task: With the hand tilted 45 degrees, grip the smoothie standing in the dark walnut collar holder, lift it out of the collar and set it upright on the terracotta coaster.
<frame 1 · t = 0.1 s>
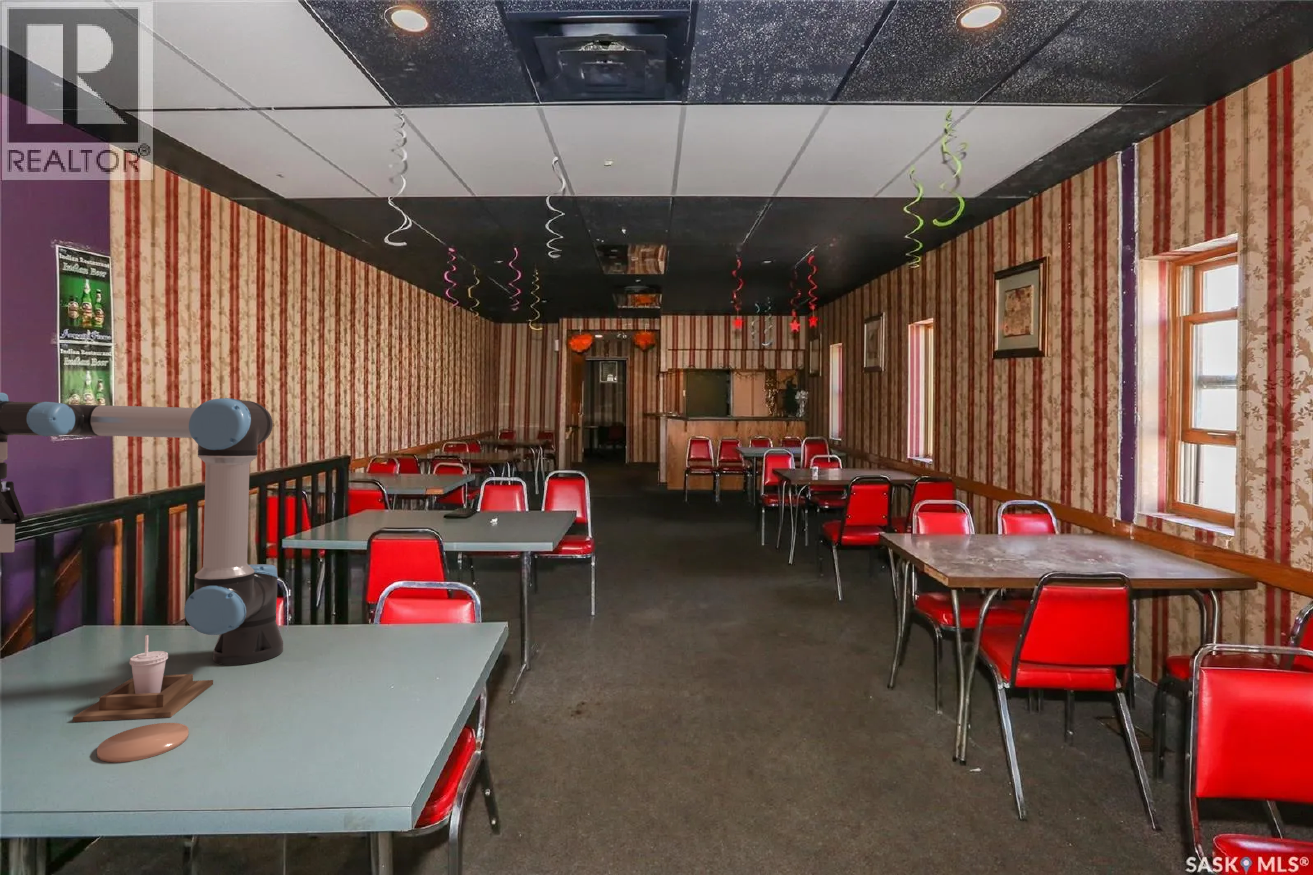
collar holder: (148, 701, 135), on the table
coaster: (144, 744, 117), on the table
smoothie: (148, 702, 135), resting in collar holder
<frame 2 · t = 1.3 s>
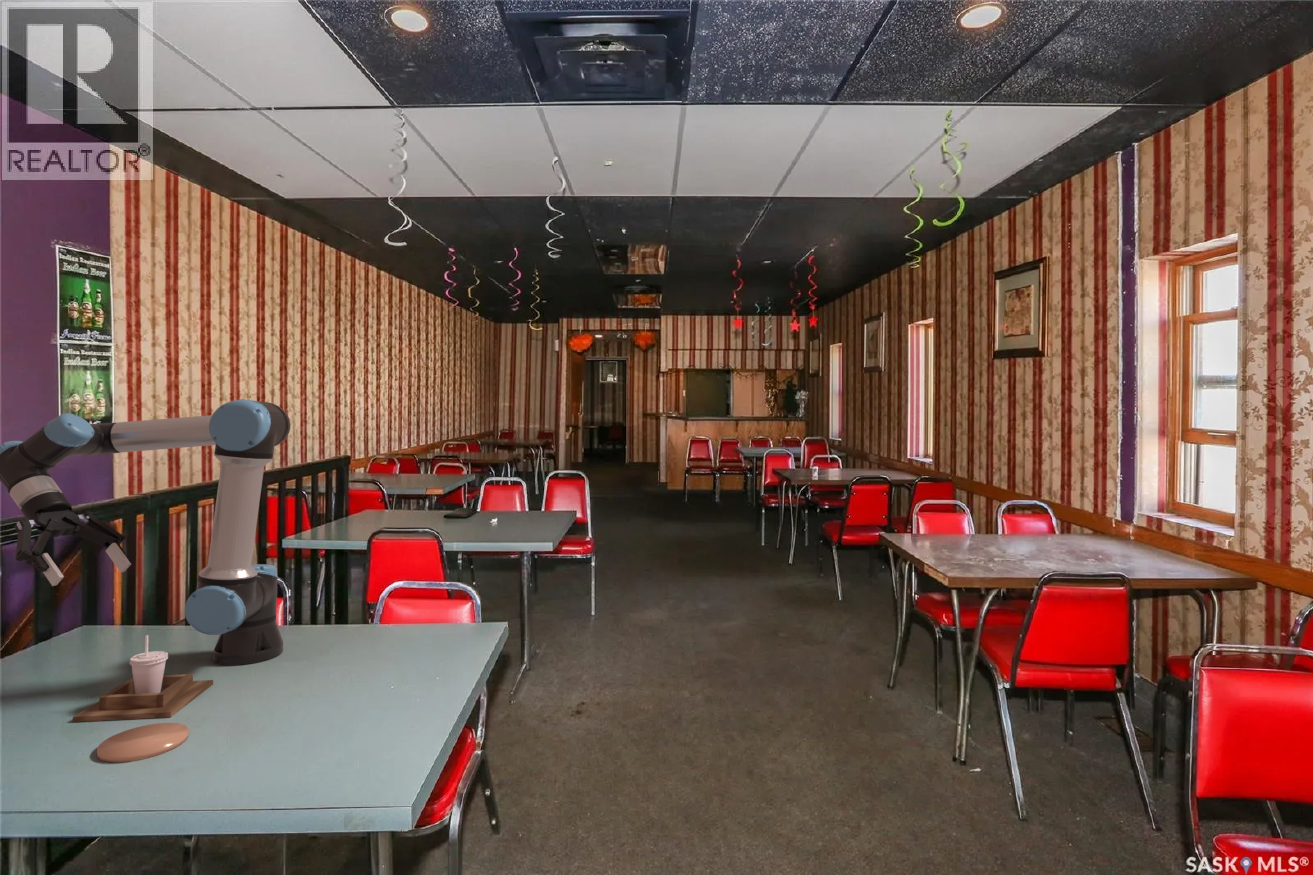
hand: (93, 574, 138), 26 cm above the table, tool tilted 45°, fingers open, 13 cm apart
nothing on the table moved.
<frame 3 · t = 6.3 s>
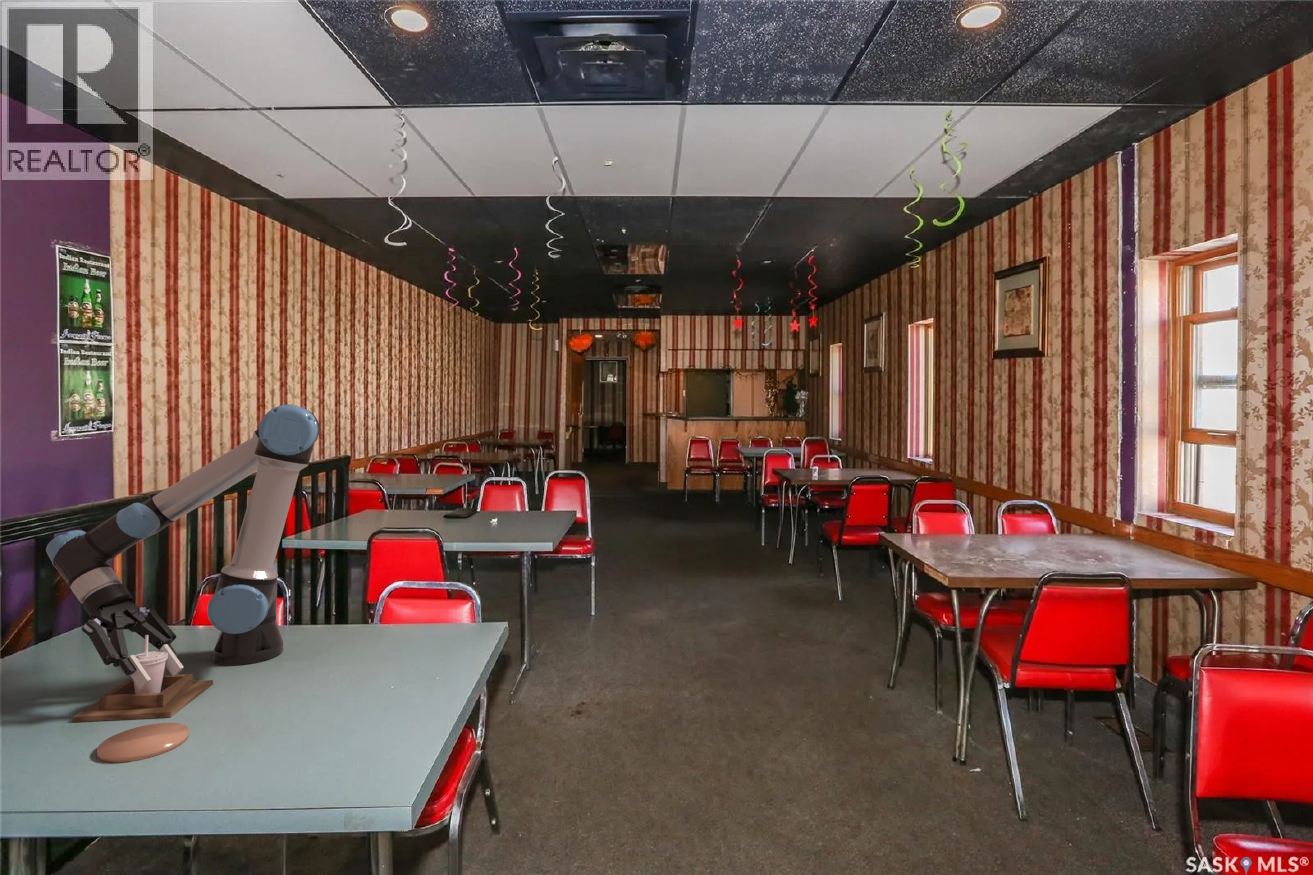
hand: (162, 677, 134), 5 cm above the table, tool tilted 45°, fingers closed on smoothie, 6 cm apart
smoothie: (148, 702, 135), resting in collar holder, touching gripper
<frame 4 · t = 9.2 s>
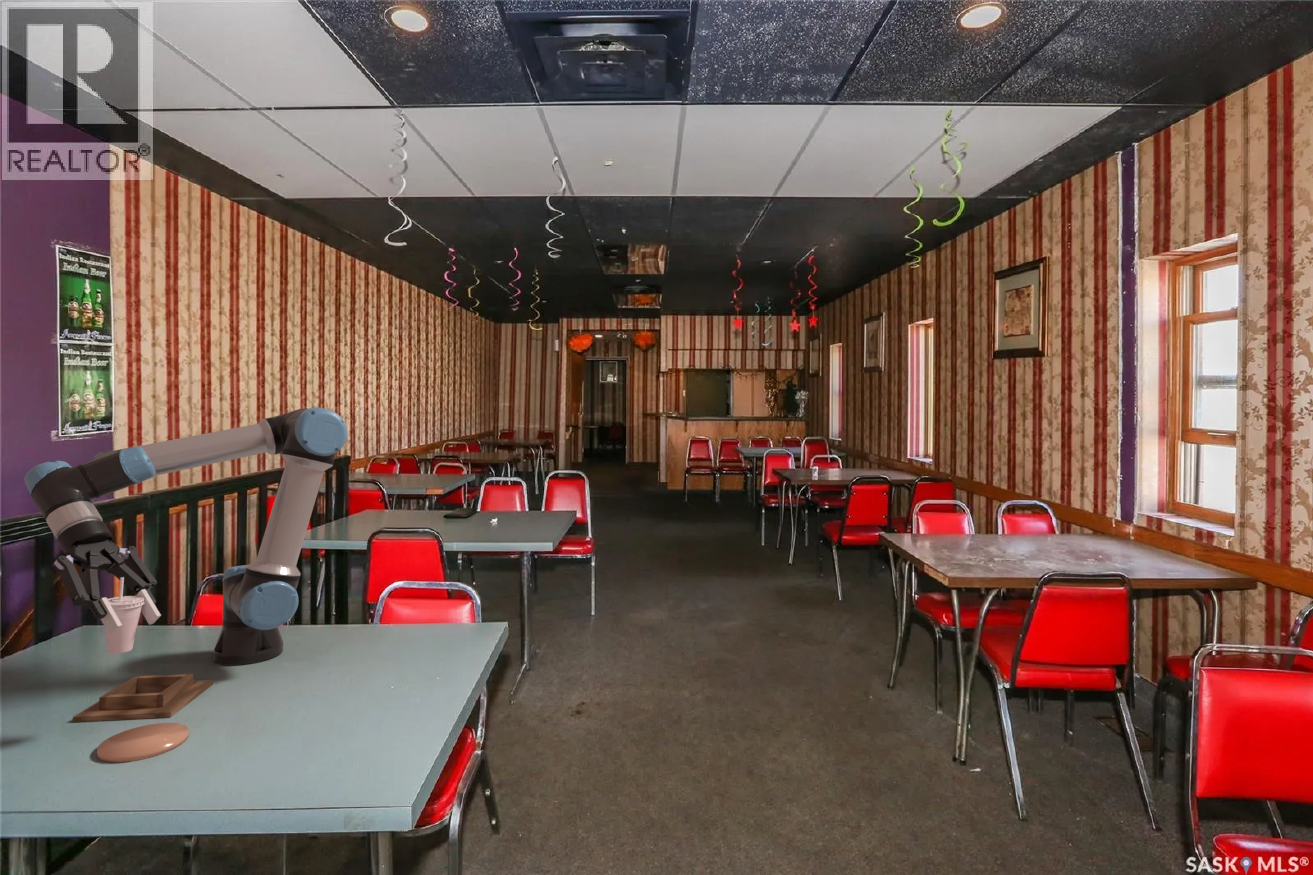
hand: (136, 624, 122), 20 cm above the table, tool tilted 40°, fingers closed on smoothie, 6 cm apart
smoothie: (120, 651, 123), point 15 cm above the table, touching gripper
when the fingers open (8 cm above the table, at t = 12.6 s): smoothie drops 1 cm, resting on coaster.
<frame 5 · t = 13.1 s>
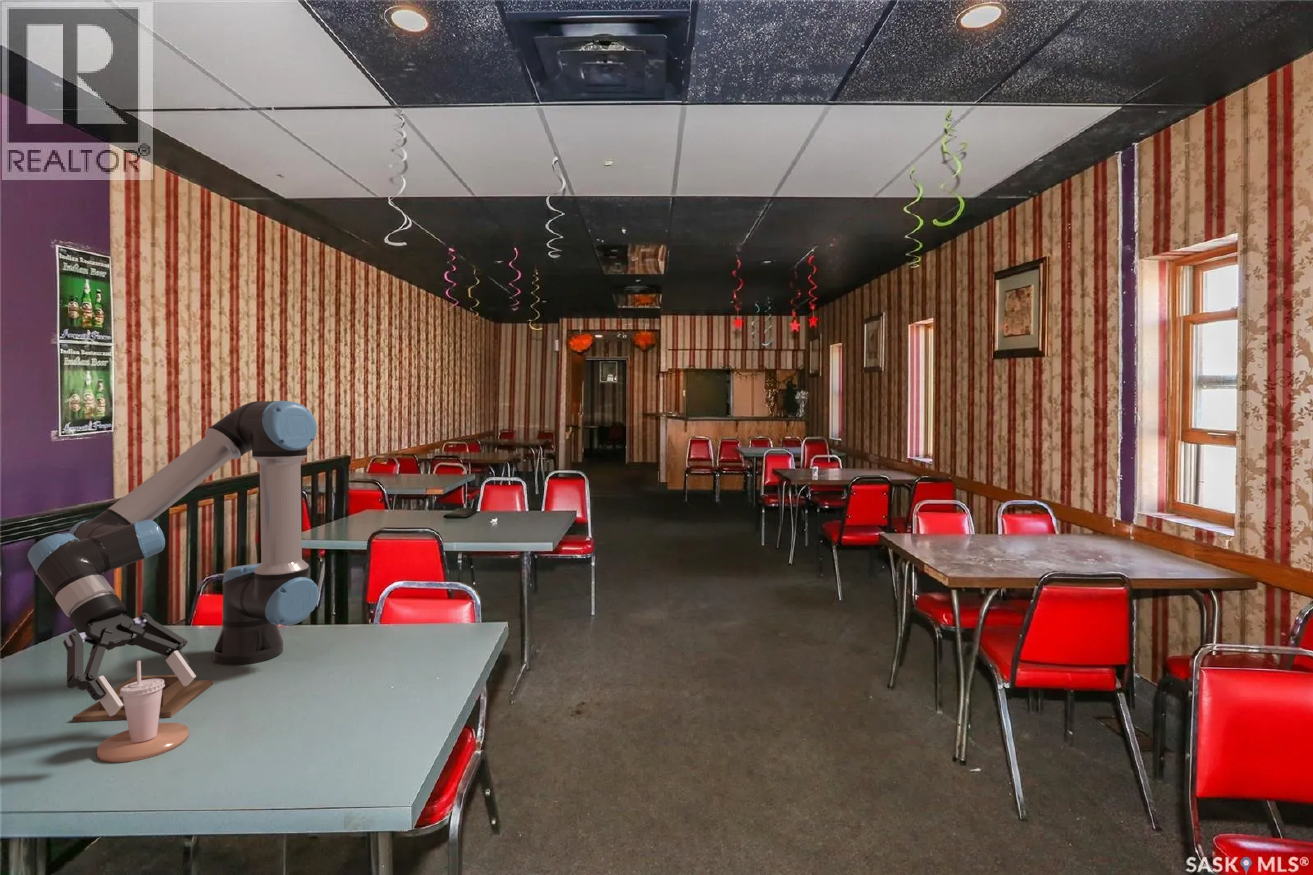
hand: (155, 695, 116), 9 cm above the table, tool tilted 45°, fingers open, 13 cm apart
smoothie: (144, 739, 117), point 1 cm above the table, touching coaster
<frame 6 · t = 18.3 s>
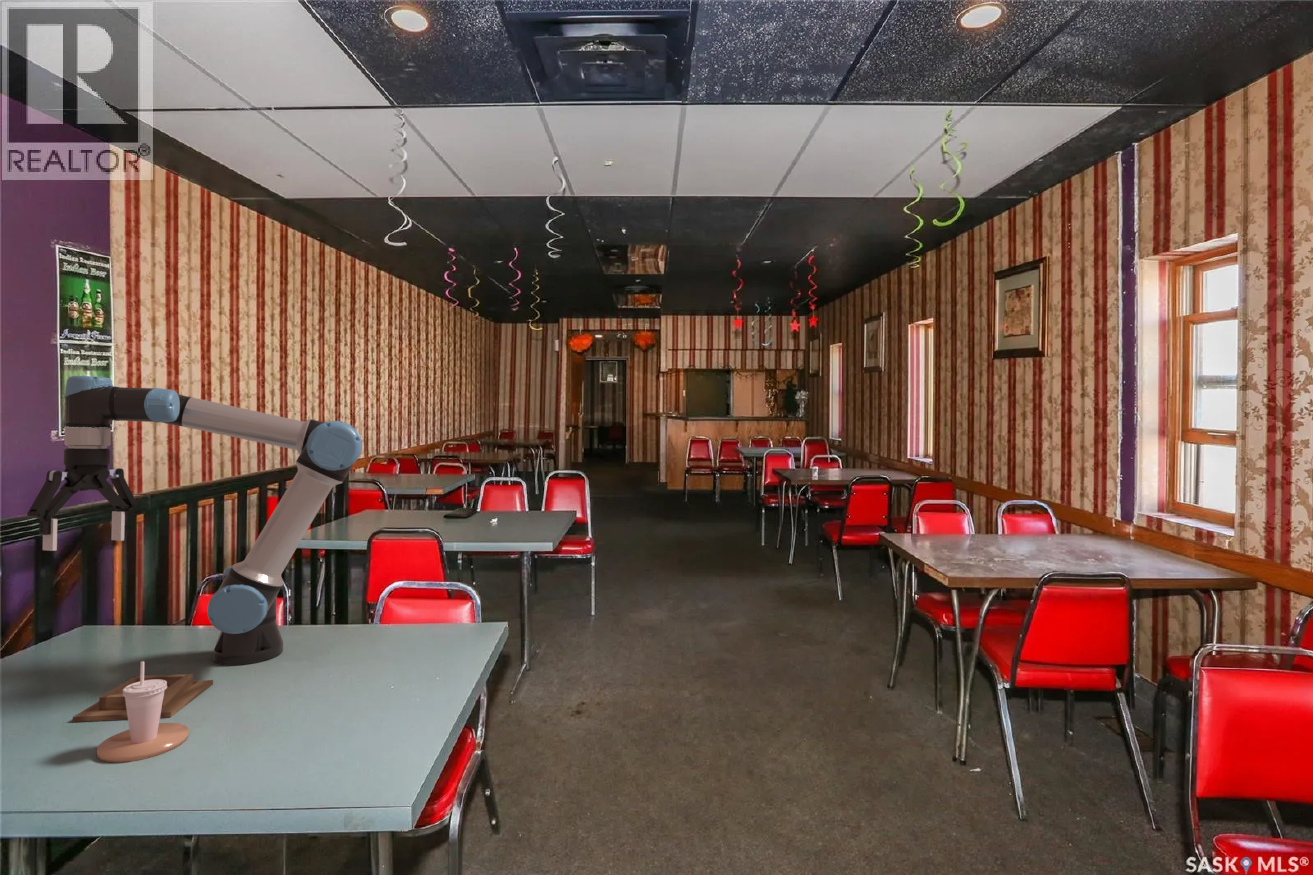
hand: (85, 545, 139), 32 cm above the table, tool pointing down, fingers open, 13 cm apart
nothing on the table moved.
at the end: smoothie inside the target area on the coaster (0.1 cm from its centre), point 0.8 cm above the coaster's base; smoothie tilted 0°; the gripper is holding nothing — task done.
